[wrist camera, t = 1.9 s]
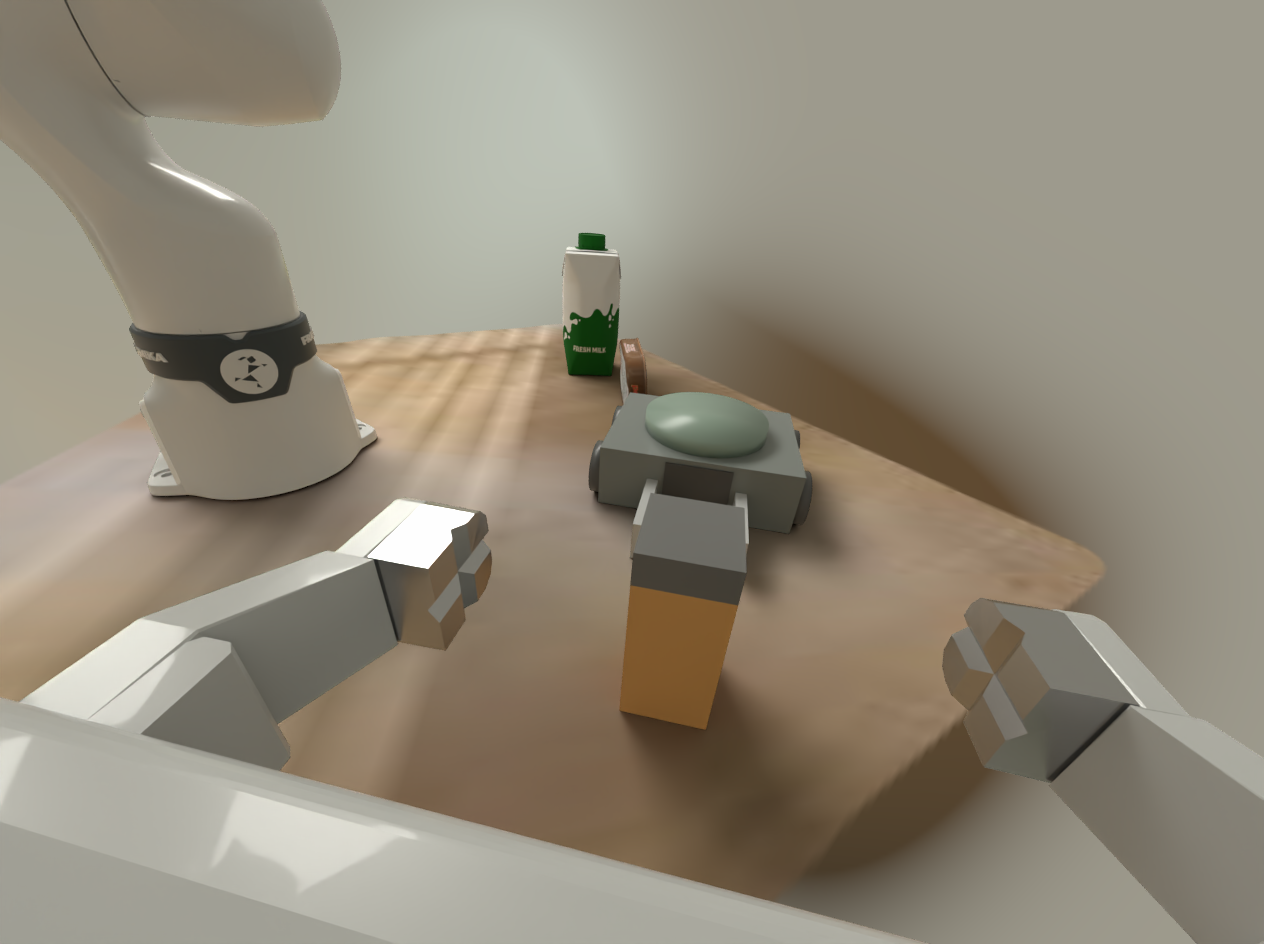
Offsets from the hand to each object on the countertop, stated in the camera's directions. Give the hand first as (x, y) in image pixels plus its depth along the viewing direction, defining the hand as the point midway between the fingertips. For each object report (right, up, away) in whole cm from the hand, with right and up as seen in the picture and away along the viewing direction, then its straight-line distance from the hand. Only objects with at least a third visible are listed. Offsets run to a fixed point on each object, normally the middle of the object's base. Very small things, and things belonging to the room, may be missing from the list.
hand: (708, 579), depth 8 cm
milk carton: (-8, +19, +70) cm, 73 cm away
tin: (-2, +11, +58) cm, 59 cm away
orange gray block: (+1, -11, +21) cm, 23 cm away
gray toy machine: (+5, -1, +38) cm, 39 cm away
